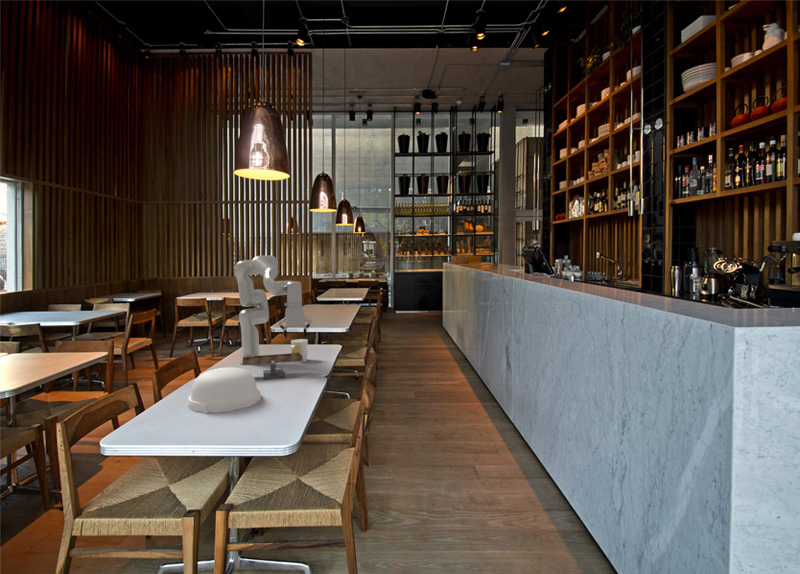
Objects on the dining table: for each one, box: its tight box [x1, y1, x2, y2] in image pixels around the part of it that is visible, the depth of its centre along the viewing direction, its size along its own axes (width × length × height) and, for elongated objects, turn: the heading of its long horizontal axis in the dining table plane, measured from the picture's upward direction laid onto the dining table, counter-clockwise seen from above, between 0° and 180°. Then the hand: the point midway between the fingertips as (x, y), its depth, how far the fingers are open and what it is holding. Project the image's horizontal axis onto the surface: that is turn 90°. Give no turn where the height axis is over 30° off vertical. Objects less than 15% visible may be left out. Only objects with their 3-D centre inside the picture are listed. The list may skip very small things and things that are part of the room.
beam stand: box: [262, 359, 285, 380], centre depth 253 cm, size 10×15×9 cm, turn 16°
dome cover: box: [187, 366, 262, 414], centre depth 209 cm, size 32×30×14 cm
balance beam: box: [241, 352, 303, 366], centre depth 253 cm, size 30×8×4 cm, turn 106°
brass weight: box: [291, 345, 301, 356], centre depth 257 cm, size 5×5×6 cm
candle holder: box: [290, 338, 309, 363], centre depth 286 cm, size 10×10×12 cm
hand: (295, 337), depth 256 cm, fingers open, 9 cm apart
